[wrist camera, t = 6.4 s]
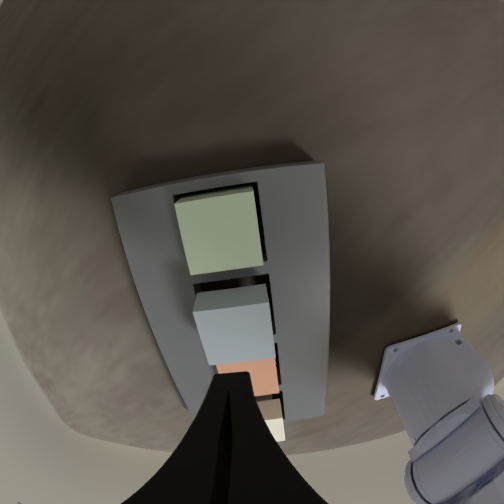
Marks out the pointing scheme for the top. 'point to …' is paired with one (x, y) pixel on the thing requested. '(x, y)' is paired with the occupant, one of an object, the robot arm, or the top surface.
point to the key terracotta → (256, 374)
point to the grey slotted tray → (274, 264)
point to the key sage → (219, 230)
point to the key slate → (235, 324)
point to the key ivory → (272, 415)
